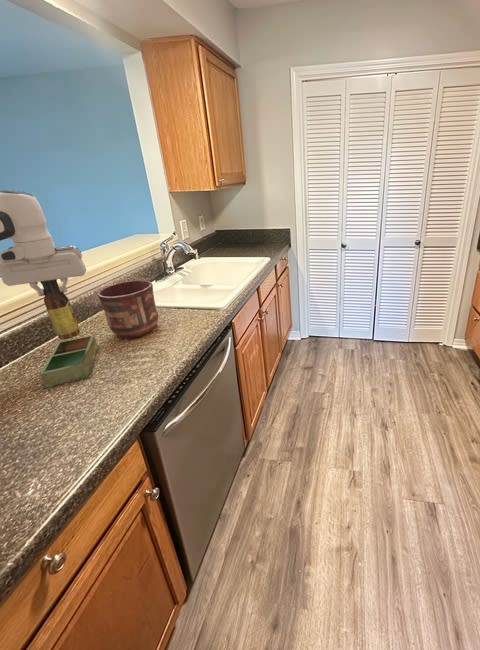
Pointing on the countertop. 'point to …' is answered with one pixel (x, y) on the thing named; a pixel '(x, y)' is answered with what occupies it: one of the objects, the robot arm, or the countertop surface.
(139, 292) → the pottery
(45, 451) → the countertop surface
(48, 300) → the sauce bottle
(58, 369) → the green shallow open box
